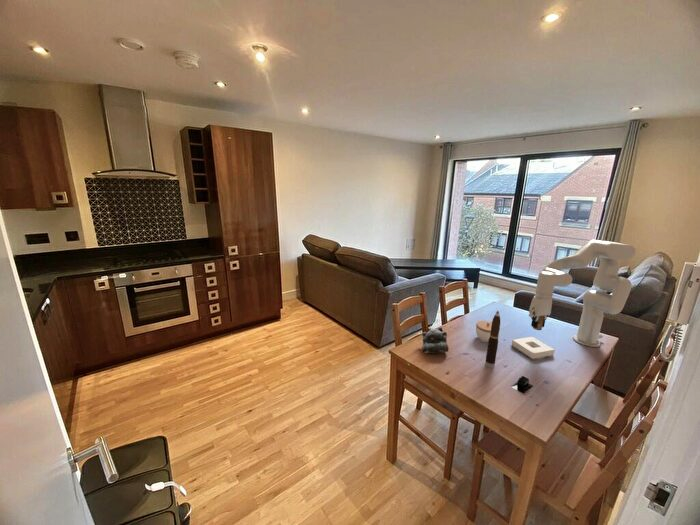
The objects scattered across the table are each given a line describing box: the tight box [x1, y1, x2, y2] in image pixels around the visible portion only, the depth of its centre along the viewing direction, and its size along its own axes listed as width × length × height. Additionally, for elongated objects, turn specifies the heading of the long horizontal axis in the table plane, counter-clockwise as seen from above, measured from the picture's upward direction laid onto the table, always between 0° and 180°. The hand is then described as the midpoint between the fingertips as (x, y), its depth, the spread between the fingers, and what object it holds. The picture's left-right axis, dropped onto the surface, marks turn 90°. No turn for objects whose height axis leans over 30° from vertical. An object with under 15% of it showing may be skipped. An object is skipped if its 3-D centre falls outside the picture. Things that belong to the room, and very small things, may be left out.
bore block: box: [511, 336, 555, 361], centre depth 158 cm, size 14×14×4 cm
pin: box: [532, 316, 544, 331], centre depth 153 cm, size 4×4×8 cm
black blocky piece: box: [510, 375, 534, 395], centre depth 130 cm, size 12×7×5 cm, turn 123°
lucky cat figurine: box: [421, 327, 450, 354], centre depth 157 cm, size 15×12×14 cm
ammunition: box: [484, 310, 501, 369], centre depth 142 cm, size 5×5×30 cm
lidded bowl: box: [475, 320, 501, 343], centre depth 169 cm, size 13×13×11 cm
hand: (537, 326), depth 154 cm, fingers closed on pin, 4 cm apart
